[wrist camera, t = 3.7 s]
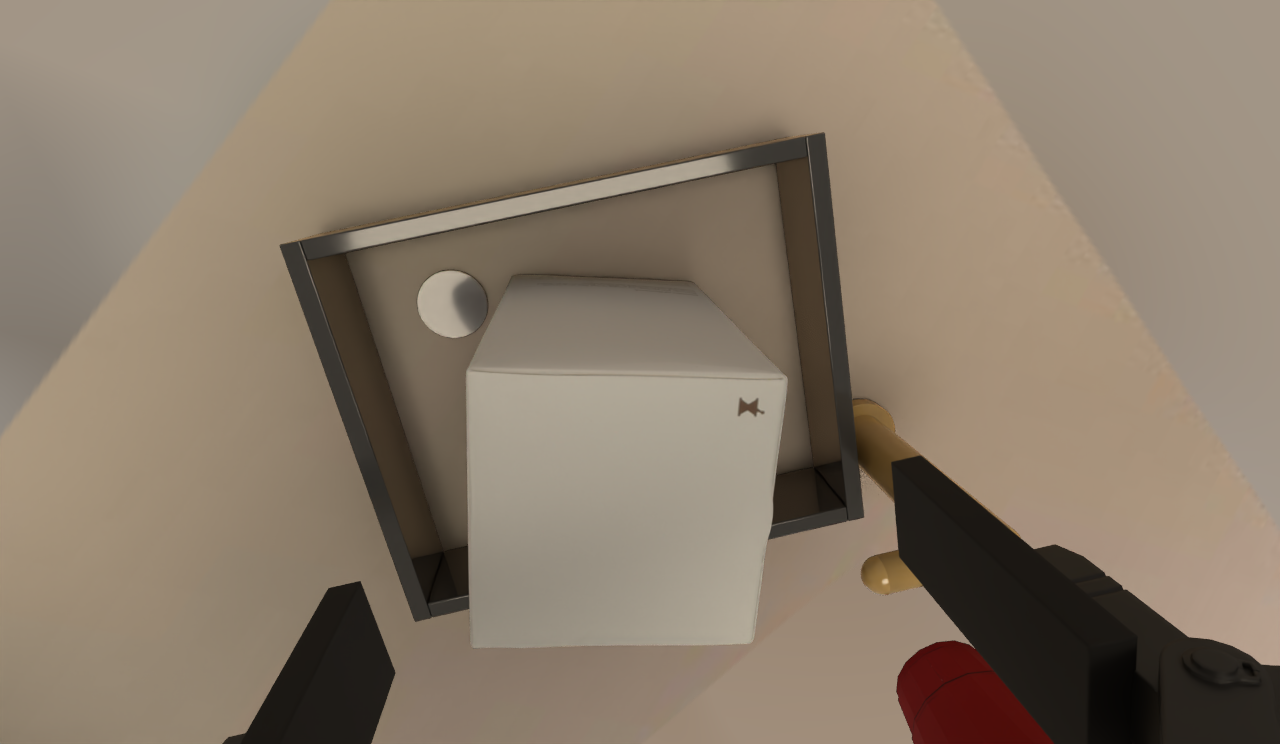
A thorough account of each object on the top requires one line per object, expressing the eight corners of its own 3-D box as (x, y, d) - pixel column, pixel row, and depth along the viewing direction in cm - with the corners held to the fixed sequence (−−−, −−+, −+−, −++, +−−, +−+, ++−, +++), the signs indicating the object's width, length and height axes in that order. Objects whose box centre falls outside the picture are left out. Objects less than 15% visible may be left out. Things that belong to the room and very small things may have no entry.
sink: (433, 566, 35) (367, 766, 24) (319, 233, 30) (161, 277, 18) (891, 462, 36) (1046, 602, 25) (862, 121, 31) (1043, 94, 19)
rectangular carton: (507, 269, 31) (457, 358, 17) (697, 279, 32) (800, 369, 18) (505, 450, 34) (461, 657, 20) (681, 453, 35) (760, 652, 21)
